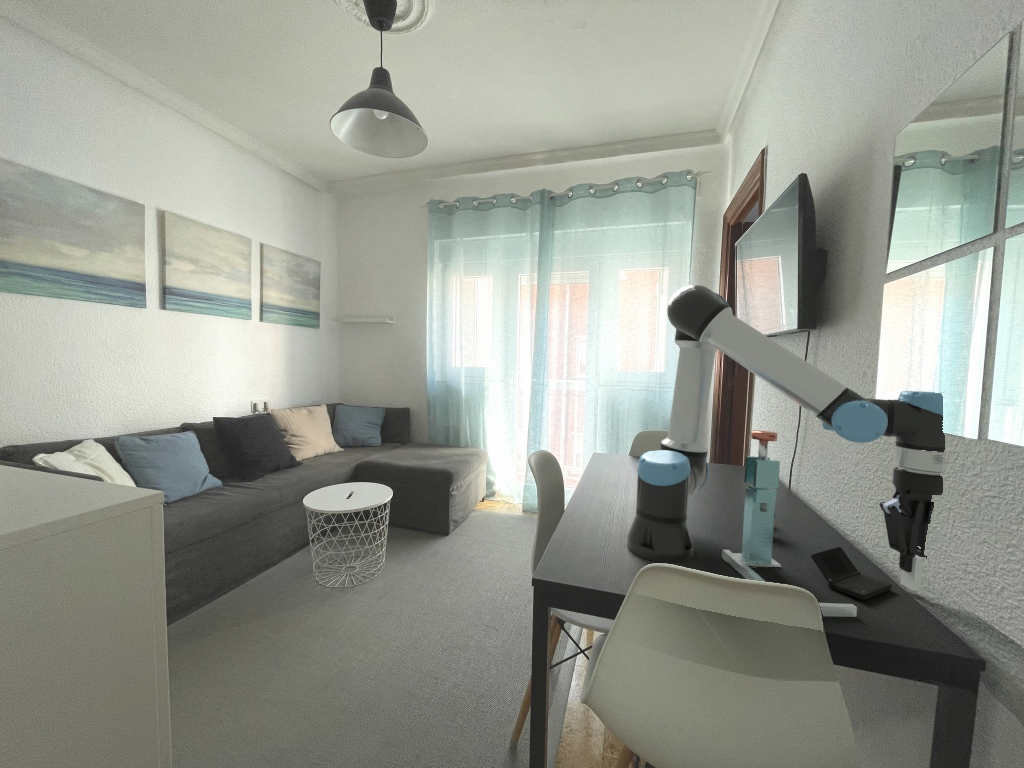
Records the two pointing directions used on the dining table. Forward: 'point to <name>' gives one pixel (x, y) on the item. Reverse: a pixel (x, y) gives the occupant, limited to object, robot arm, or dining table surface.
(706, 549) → the dining table surface
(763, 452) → the plunger
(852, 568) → the handheld gaming console
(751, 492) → the frame
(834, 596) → the dining table surface
